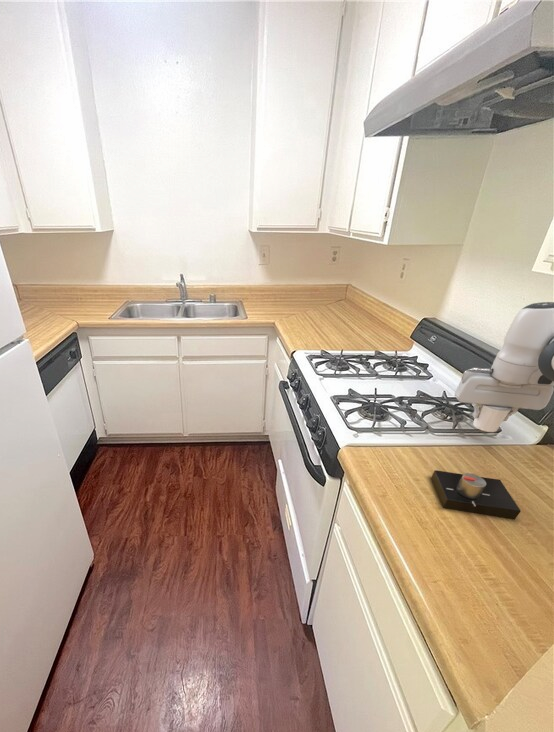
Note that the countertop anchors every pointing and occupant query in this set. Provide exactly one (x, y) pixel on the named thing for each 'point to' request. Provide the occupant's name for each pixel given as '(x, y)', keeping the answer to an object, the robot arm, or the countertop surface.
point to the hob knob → (471, 486)
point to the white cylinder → (491, 417)
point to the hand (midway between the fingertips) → (489, 418)
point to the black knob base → (489, 502)
